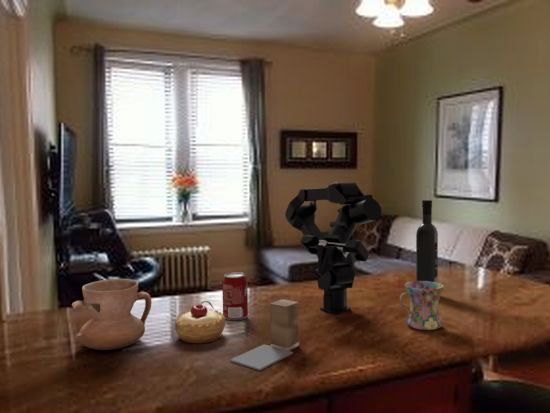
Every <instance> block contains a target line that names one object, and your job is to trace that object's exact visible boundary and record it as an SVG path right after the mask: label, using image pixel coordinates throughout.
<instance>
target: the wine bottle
mask: <svg viewBox="0 0 550 413" xmlns="http://www.w3.org/2000/svg"><path fill="white" fill-rule="evenodd" d="M421 203H422V204H421V208H422V212H421V215H422V223H421V224H420V225H419V226H418V227H417V229H416V233H415V234H416V235H415V237H416V238H415V240H416V241H415V245H416V246H415V248H416V249H415V253H416V254H415V258H416V259H415V264H416V265H415V266H416V268H415V272H416V273H415V281H430V282H436V283H439V282H438V281H439V280H438V275H439V272H438V269H439V267H438V266H439V264H438V263H439V262H438V261H439V260H438V256H439V255H438V254H439V250H438V246H439V242H438V240H439V238H438V235H439V234H438V229H437V227H436V225H434V224H433V223H432V222H433V221H432V218H433V217H432V216H433V213H432V212H433V211H432V210H433V200H431V199H429V200H428V199H424V200H421Z"/></svg>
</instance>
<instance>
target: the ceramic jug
mask: <svg viewBox="0 0 550 413" xmlns="http://www.w3.org/2000/svg"><path fill="white" fill-rule="evenodd" d="M138 290H139V281H137V280H136V279H131V278H110V279H103V280H98V281H97V280H96V281H93V282H92V281H91V282H90V283H87V284H84V285H82V288H81V291H82V296H83V300H76V301H74V302H72V304H71V306H72V307H73V309H74V310H76V309H78V308H83V309H85V310H87V311H89V313H90V314H91V316H92V318H90V319H89V320H88V321H87V322H86V323H85V324H84V325H83V326H82V327H81V328H80V329H79V332H78V333H77V335H76V338H77V340H78V342H79V343H81V344H82V345H83V346H84V347H87V348H89V349H92V350H97V351H109V350H111V351H112V350H117V349H122V348H125V347H127V346H131V345H132V344H134V343H136V342H138V341H139V340H140V339H141V338H142V337H143V336H144V334H145V333H146V332H145V331H146V327H145V325H146V320H147V318H148V317H149V313H150V311H151V309H152V297H151V295H150V294H149V293H148V292H146V291H140V292H138ZM141 298H143V299H144V302H145V303H144V304H145V305H144V310H143V312H142V316H141V317H140V318H139V317H137V316H135V315H134V314H132V313H131V311H132V309H133V307H134V305H135V303H136V302H137V301H138V300H139V299H141Z"/></svg>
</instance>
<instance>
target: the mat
mask: <svg viewBox="0 0 550 413" xmlns="http://www.w3.org/2000/svg"><path fill="white" fill-rule="evenodd" d="M293 353H294V352H293V351H292V350H289V351H287V350H284V349H280V348H276V347H273V346H271V345H268V344H262V345H259V346H257V347H255V348H253V349H251V350H248V351H246V352H244V353H242V354H240V355H237V356H234V358H231V359H230V362H231V363H234V364H237V365H240V366H244V367H247V368H250V369H253V370H256V371H260V372H261V371H262V370H265V369H266V368H268V367H270V366H272V365H274V364H275V363H277V362H280V361H281V360H284V359H285V358H287V357H290V356H291V355H293Z"/></svg>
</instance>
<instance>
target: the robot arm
mask: <svg viewBox="0 0 550 413" xmlns="http://www.w3.org/2000/svg"><path fill="white" fill-rule="evenodd" d="M373 196H374V195H373V194H365V193H363V191H362V190H361V188H360V187H359V186H358V185H357V182H355V181H339V182H338V181H336V182H332V183H330V184H328V185H327V186H326V187H316V188H314V187H306V188H305V187H303V188H301V189H300V190H299V192H298V193H297V195H296V196H295V197H294V198H293V199H292V200H290V201H289V203H288V205H287V208H286V210H285V212H284V213H285V219H286V220H287V222H288V223H289V225H290V226H291V227H293V228H294V229H296V230H297V231H300V232H301V233H302V237H301V240H300V241H299V242H300V244H301V246H303V247H304V249H305V250H306V251H307V252H308V253H309V254H310V255H315V256H317V260H318V261H317V274H318V276H320V277H319V278H318V279H317V286H318V289H319V290H322V291H323V297H322V303H323V306H320V307H319V309H320V310H321V311H325V312H328V313H332V314H340V313H341V314H342V313H344V312H346V311H349V310H352V308H351V307H350V306H348V305H347V304H348V300H347V297H348V296H347V295H348V294H347V291H348V290H347V289H352V288H353V286H354V281H355V276H356V271H355V268H354V266H353V264H354V263H355V262H356V261H357V262H367V260H368V258H369V256H370V253H369V249H367V246H365V244H364V243H363V241H362V240H361V239H360V240H359V239H355V237H356V234H355V233H354V232H355V230H356V228H357V225H364V224H368V223H371V222H374V221H377V220H379V219H380V217H381V215H382V207H381V205H380V203H379V202H378V201H377V200H376V199H374V197H373ZM317 201H328V202H329V203H332V204H339V205H342V206H341V207H340V208H338V209H337V213H338V214H337V216H336V218H335V219H334V221H330V222H329V227H330V230H329V232H328V234H327V233H322V231H321V230H320V228H319V226H317V224H316V220H315V218H316V212H317V209H318V207H317ZM305 202H309V204H304V203H305Z"/></svg>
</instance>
